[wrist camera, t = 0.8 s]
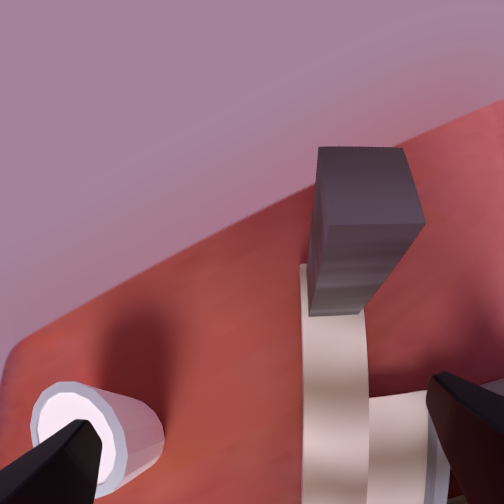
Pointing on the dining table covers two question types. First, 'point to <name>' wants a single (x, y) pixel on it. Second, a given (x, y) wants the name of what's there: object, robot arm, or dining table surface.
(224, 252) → the dining table surface
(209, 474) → the dining table surface
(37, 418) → the shot glass
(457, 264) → the dining table surface
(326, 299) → the tray with upright post
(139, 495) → the dining table surface
